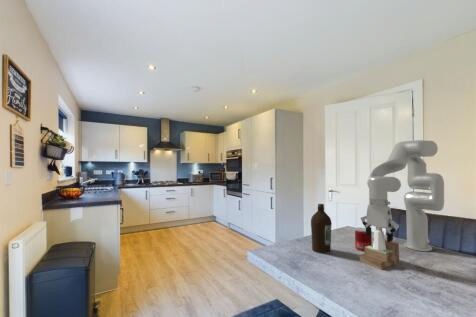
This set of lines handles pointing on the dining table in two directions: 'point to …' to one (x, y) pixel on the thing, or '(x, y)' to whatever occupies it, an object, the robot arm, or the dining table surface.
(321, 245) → the olive oil
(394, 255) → the stand
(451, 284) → the dining table surface
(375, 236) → the pepper shaker
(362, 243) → the canned food
